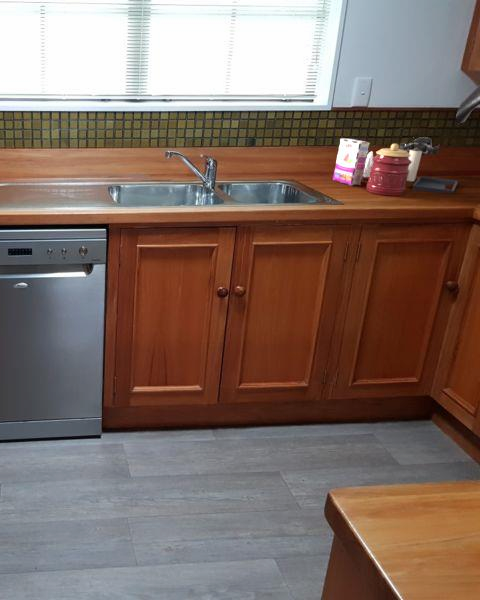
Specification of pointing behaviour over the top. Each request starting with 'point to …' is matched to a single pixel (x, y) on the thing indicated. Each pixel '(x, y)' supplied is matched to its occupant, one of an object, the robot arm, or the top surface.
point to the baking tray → (433, 185)
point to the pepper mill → (414, 163)
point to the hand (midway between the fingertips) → (416, 150)
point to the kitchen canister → (389, 171)
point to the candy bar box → (351, 161)
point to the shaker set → (368, 165)
